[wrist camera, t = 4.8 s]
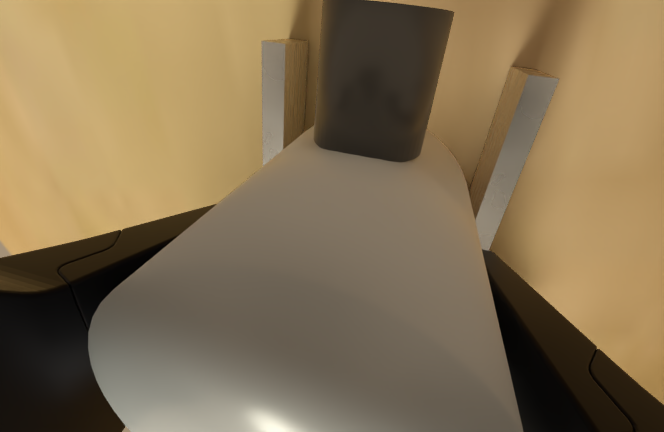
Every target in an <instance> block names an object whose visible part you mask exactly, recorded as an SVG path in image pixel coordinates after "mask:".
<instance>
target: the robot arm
mask: <svg viewBox="0 0 664 432" xmlns="http://www.w3.org/2000/svg"><path fill="white" fill-rule="evenodd" d="M215 205H217V204H215ZM215 205H211V206H207V207H203V208H200V209H196V210H192V211H189V212H185V213H181V214H177V215H174V216H170V217H166V218H163V219H159V220H155V221H151V222H148V223H144V224H140V225H137V226H133V227H129V228H125V229H123V230H122V231H121V230H118V231H114V232H110V233H107V234H103V235H99V236H95V237H91V238H87V239H83V240H79V241H75V242H70V243H66V244H62V245H57V246H53V247H48V248H44V249H39V250H34V251H30V252H25V253H21V254H16V255H12V256H7V257H2V258H0V432H122V431H123V429H124V428H125V424H124V423H123V422H122V421H121V419H120V418H119V417H118V416H117V414H116V413H115V412H114V410H113V409H112V407H111V406H110V404H109V403H108V401H107V399H106V398H105V396H104V395H103V393H102V391H101V389H100V387H99V385H98V383H97V381H96V378H95V375H94V372H93V369H92V366H91V362H90V357H89V351H88V332H89V328H90V325H91V321H92V317H93V315H94V313H95V312H96V310H97V308H98V306H99V305H100V303H101V302H102V301H103V300H104V299H105V298H106V297H107V296H108V295H109V293H110V292H111V291H112V290H113V289H115V288H116V287H117V286H118V285H119V284H121V283H122V282H123V281H124V280H126V279H127V278H128V277H129V276H130V275H132V274H133V273H134V272H135V271H136V270H138V269H139V268H140V267H141V266H143V265H144V264H145V263H146V262H147V261H149V260H150V259H151V258H152V257H153V256H155V255H156V254H157V253H158V252H160V251H161V250H162V249H163V248H164V247H166V246H167V245H168V244H169V243H170V242H172V241H173V240H174V239H175V238H177V237H178V236H179V235H180V234H181V233H183V232H184V231H185V230H186V229H187V228H189V227H190V226H191V225H192V224H193V223H195V222H196V221H197V220H198V219H200V218H201V217H202V216H203V215H204V214H206V213H207V212H208V211H209V210H210V209H212V208H213V207H214V206H215ZM482 253H483V257H484V261H485V266H486V270H487V274H488V279H489V283H490V287H491V292H492V296H493V301H494V305H495V309H496V314H497V318H498V322H499V327H500V331H501V336H502V340H503V344H504V349H505V353H506V357H507V362H508V366H509V370H510V375H511V379H512V384H513V388H514V392H515V397H516V401H517V405H518V410H519V414H520V419H521V423H522V427H523V432H664V405H663V404H662V403H661V402H659V401H658V400H657V399H656V398H655V397H653V396H652V395H651V394H650V393H649V392H647V391H646V390H645V389H644V388H643V387H641V386H640V385H639V384H638V383H637V382H636V381H635V380H633V379H632V378H631V377H630V376H629V375H628V374H627V373H626V372H624V371H623V370H622V369H621V368H620V367H619V366H618V365H616V364H615V363H614V362H613V361H612V360H611V359H610V358H609V357H608V356H607V355H606V354H604V353H603V352H602V351H601V350H600V349H597V347H596V345H594V344H593V343H592V342H591V341H590V340H589V339H588V338H587V337H586V336H585V335H583V334H582V333H581V332H580V331H579V330H578V329H577V328H576V327H575V326H574V325H573V324H571V323H570V322H569V321H568V320H567V319H566V318H565V317H564V316H563V315H562V314H560V313H559V312H558V311H557V310H556V309H555V308H554V307H553V306H552V305H551V304H549V303H548V302H547V301H546V300H545V299H544V298H543V297H542V296H541V295H540V294H538V293H537V292H536V291H535V290H534V289H533V288H532V287H531V286H530V285H529V284H527V283H526V282H525V281H524V280H523V279H522V278H521V277H520V276H519V275H518V274H517V273H515V272H514V271H513V270H512V269H511V268H510V267H509V266H508V265H507V264H506V263H504V262H503V261H502V260H501V259H500V258H499V257H498V256H497V255H496V254H495V253H493V252H492V251H488V250H483V249H482ZM596 349H597V350H596Z"/></svg>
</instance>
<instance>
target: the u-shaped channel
mask: <svg viewBox="0 0 664 432" xmlns="http://www.w3.org/2000/svg"><path fill="white" fill-rule="evenodd" d="M308 44H309V41H303V40H295V39H278V40H266V41H262V119H263V166H264V165H265V164H266V163H268V162H269V161H270V160H271V159H272V158H274V157H275V156H276V155H277V154H278V153H280V152H281V151H282V150H283V149H284V148H286V147H287V146H288V145H289V144H291V143H292V142H293V141H294V140H295V139H297V138H298V137H299V136H300V135H301V134H303V133H304V119H305V100H306V81H307V63H308ZM558 81H559V78H556V77H554V76H551V75H549V74H546V73H544V72H541V71H539V70H536V69H528V68H520V67H512V66H511V68H510V71H509V74H508V77H507V80H506V83H505V86H504V89H503V92H502V95H501V98H500V101H499V104H498V107H497V110H496V113H495V116H494V118H493V121H492V124H491V127H490V130H489V133H488V136H487V139H486V142H485V145H484V148H483V151H482V154H481V157H480V160H479V163H478V166H477V169H476V172H475V175H474V178H473V181H472V184H471V187H470V190H469V196H470V200H471V204H472V209H473V213H474V218H475V222H476V226H477V231H478V235H479V239H480V244H481V248H482V249H483V250H488V251H489V249H490V246H491V244H492V241H493V239H494V237H495V234H496V232H497V229H498V227H499V224H500V222H501V220H502V217H503V215H504V212H505V210H506V207H507V205H508V203H509V200H510V198H511V195H512V193H513V190H514V188H515V186H516V183H517V181H518V178H519V176H520V173H521V171H522V169H523V166H524V164H525V161H526V159H527V156H528V154H529V152H530V149H531V147H532V144H533V142H534V139H535V137H536V135H537V132H538V130H539V127H540V125H541V122H542V120H543V118H544V115H545V113H546V110H547V108H548V105H549V103H550V101H551V98H552V96H553V93H554V91H555V88H556V86H557V84H558Z"/></svg>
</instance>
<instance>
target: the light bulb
mask: <svg viewBox="0 0 664 432" xmlns="http://www.w3.org/2000/svg"><path fill="white" fill-rule="evenodd" d="M453 16H454V12H452V11H448V10H443V9H436V8H429V7H422V6H414V5H406V4H398V3H389V2H379V1H369V0H323V8H322V23H321V37H320V52H319V66H318V81H317V95H316V110H315V124H314V126H312V127H311V128H309V129H308V130H307V131H305V132H304V133H303V134H301V135H300V136H299V137H298V138H297V139H295V140H294V141H293V142H292V143H291V144H289V145H288V146H287V147H286V148H284V149H283V150H282V151H281V152H280V153H278V154H277V155H276V156H275V157H274V158H272V159H271V160H270V161H269V162H268V163H266V164H265V165H264V166H263V167H261V168H260V169H259V170H258V171H257V172H255V173H254V174H253V175H252V176H251V177H249V178H248V179H247V180H246V181H244V182H243V183H242V184H241V185H240V186H238V187H237V188H236V189H235V190H234V191H232V192H231V193H230V194H229V195H227V196H226V197H225V198H224V199H223V200H221V201H220V202H219V203H218V204H217V205H215V206H214V207H213V208H212V209H210V210H209V211H208V212H207V213H206V214H204V215H203V216H202V217H201V218H200V219H198V220H197V221H196V222H195V223H193V224H192V225H191V226H190V227H189V228H187V229H186V230H185V231H184V232H183V233H181V234H180V235H179V236H178V237H177V238H175V239H174V240H173V241H172V242H170V243H169V244H168V245H167V246H166V247H164V248H163V249H162V250H161V251H160V252H158V253H157V254H156V255H155V256H153V257H152V258H151V259H150V260H149V261H147V262H146V263H145V264H144V265H143V266H141V267H140V268H139V269H138V270H136V271H135V272H134V273H133V274H132V275H130V276H129V277H128V278H127V279H126V280H124V281H123V282H122V283H121V284H119V285H118V286H117V287H116V288H115V289H113V290H112V291H111V292H110V293H109V295H108V296H107V297H106V298H105V299H104V300H103V301H102V302H101V303H100V305H99V306H98V308H97V310H96V312H95V313H94V315H93V317H92V321H91V325H90V328H89V332H88V351H89V357H90V362H91V366H92V369H93V372H94V375H95V378H96V381H97V383H98V385H99V387H100V389H101V391H102V393H103V395H104V396H105V398H106V399H107V401H108V403H109V404H110V406H111V407H112V409H113V410H114V412H115V413H116V414H117V416H118V417H119V418H120V419H121V421H122V422H123V423H124V424H125V426H126V427H127V428H128V429H129V430H130V431H131V432H523V427H522V423H521V419H520V414H519V410H518V405H517V401H516V397H515V392H514V388H513V384H512V379H511V375H510V370H509V366H508V362H507V357H506V353H505V349H504V344H503V340H502V336H501V331H500V327H499V322H498V318H497V314H496V309H495V305H494V301H493V296H492V292H491V287H490V283H489V279H488V274H487V270H486V266H485V261H484V257H483V253H482V248H481V244H480V239H479V235H478V231H477V226H476V222H475V218H474V213H473V209H472V204H471V200H470V196H469V191H468V187H467V183H466V180H465V177H464V174H463V172H462V169H461V167H460V165H459V164H458V162H457V160H456V158H455V157H454V155H453V154H452V153H451V152H450V150H449V149H448V148H447V146H446V145H445V144H444V143H443V142H441V141H440V140H439V139H438V138H437V137H436V136H435V135H434V134H432V133H431V132H430V131H428V130H427V124H428V120H429V116H430V112H431V108H432V104H433V99H434V95H435V91H436V87H437V83H438V79H439V74H440V70H441V66H442V62H443V58H444V54H445V49H446V45H447V41H448V37H449V33H450V29H451V24H452V20H453Z"/></svg>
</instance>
